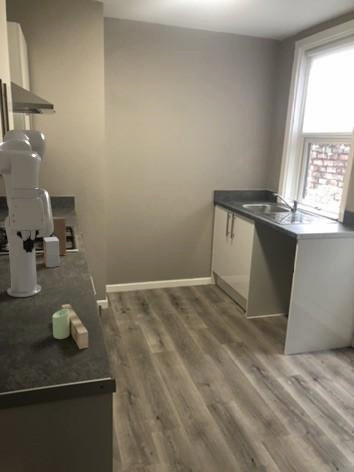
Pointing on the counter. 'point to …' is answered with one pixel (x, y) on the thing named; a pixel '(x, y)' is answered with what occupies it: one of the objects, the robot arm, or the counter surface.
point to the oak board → (77, 328)
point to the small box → (51, 251)
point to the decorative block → (60, 233)
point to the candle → (61, 324)
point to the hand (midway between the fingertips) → (28, 251)
